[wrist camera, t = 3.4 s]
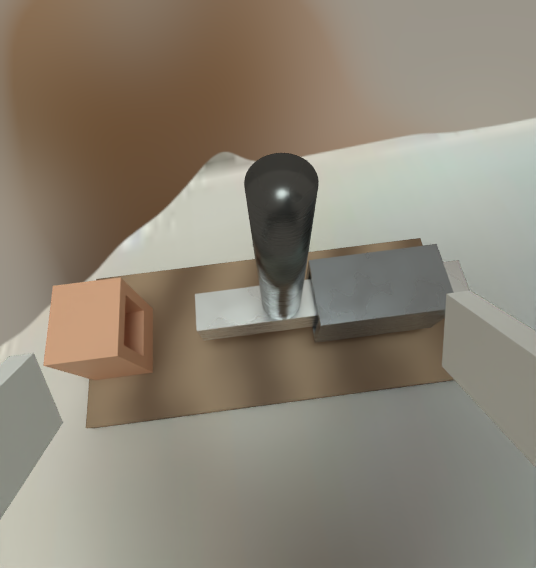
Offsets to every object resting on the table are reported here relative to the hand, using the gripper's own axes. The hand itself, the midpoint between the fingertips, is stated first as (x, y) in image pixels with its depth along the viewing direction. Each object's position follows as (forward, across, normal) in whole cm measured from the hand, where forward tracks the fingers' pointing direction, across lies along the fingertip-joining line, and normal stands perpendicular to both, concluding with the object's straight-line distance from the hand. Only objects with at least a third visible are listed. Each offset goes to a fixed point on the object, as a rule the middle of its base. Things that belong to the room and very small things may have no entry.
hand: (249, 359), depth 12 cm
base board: (+14, +2, -7) cm, 16 cm away
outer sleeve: (+13, +8, -6) cm, 17 cm away
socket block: (+14, -10, -6) cm, 18 cm away
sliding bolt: (+12, +5, -4) cm, 14 cm away
